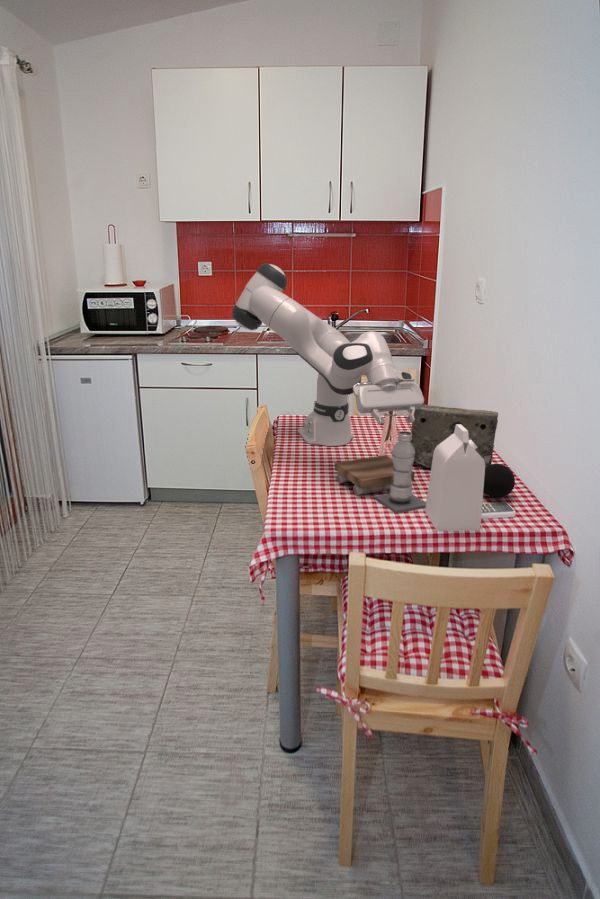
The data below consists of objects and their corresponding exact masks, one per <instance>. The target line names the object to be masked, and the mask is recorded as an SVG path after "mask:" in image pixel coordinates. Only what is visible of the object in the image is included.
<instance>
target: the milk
mask: <svg viewBox="0 0 600 899" xmlns="http://www.w3.org/2000/svg"><path fill="white" fill-rule="evenodd" d="M476 448H477V446H476V445H475V444H474V442H473V441H472V440H471V439H470V440H469V437H468V431H467V430H466V429H465V428H464V427H463V426H462V425H461V424H456V427H455V430H454V433H453V434H452V435H451V436H449V437H448V438H447V439H445V440H444V441H443V442H441V443H440V444H439V445H438V446H437V447H436V448H435V450H434V454H433V460H432V467H431V468H430V474H429V475H430V476H429V482H428V487H427V495H426V501H425V502H426V507H425V508H424V513H425V514H426V515H427V517H428V519H429V521H430V522H431V524H432V525H433V527H434V529H435V531H436V532H445V531H446V532H448V531H449V532H453V531H454V532H456V531H457V532H461V531H463V532H464V531H465V532H467V531H471V532H472V531H481V524H482V523H481V522H482V514H483V513H482V511H483V502H484V501H483V500H484V499H483V498H484V492H483V488H484V476H485V462H484V459H483V458H482V457H481V456H480V455H479V454H478V453H477V451H476V450H475V449H476Z"/></svg>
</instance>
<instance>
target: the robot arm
mask: <svg viewBox="0 0 600 899" xmlns="http://www.w3.org/2000/svg"><path fill="white" fill-rule="evenodd" d="M287 285H288V276H286V275H285V273H284V271H283V270H282V268H280V267H279V266H277V265H275V264H271V263H268V262H267V263H262V264H261V265H260V266H259V267H257V269H256V272H255V273H254V274H253V275H252V277H251V278H250V279H249V281H248V282H247V283H246V285H245V286H244V288H243V291H241V294H240V296H239V297H238V299H237V301H236V304H234V306H233V308H232V310H231V315H232V318H233V319H234V321H235V323H236V324H237V325H238V326H239V327H241V328H243V329H246V330H249V331H254V330H257V329H259V328H260V327H261V326H262V325H263V324H264V325H265V326H266V327H268V328H269V329H271V331H273V332H274V333H275V334H277V335H278V336H279V337H280V338H281V339H283V341H284V342H286V344H288V345H289V346H290V348H292V350H294V352H295V353H296V354H297V355H298V356H299V357H300V358H301V359H302V360H304V361H305V363H307V364H308V365H309V366H310V367H312V368H313V370H315V371H316V372H317V373H318V375H317V380H316V400H314V401H313V405H314V406H313V410H312V411H311V412H310V413H309V414H308V415H307V416H305V418H304V421H303V422H302V426H303V427H300V428H297V433H298V434H299V435H300V436H301V438H302V439H303V440H304V441H305V442H306V444H308V445H309V444H310V445H318V446H327V447H337V446H344V445H347V444H349V443H350V442H351V440H352V439H353V438H354V434H352V430H351V429H352V428H351V426H352V425H351V424H352V423H351V416H350V415H349V414H348V413H349V409H350V408H349V402H348V399H349V395H352V394H353V395H354V396H355V405H356V410H357V411H358V412H359V413H360V414H370V416H371V417H372V418H373V419H374V420H375V421H376V424H377V425H378V426H384V425H385V424H386V421H385V418H384V417H383V416H381V415H380V414H379V413H386V412H397V411H398V412H399V411H407V413H408V415H407V417H406V421H407V423H409V424H412V422H414V421H415V418H414V411H415V409H419V408H420V407H421V406H422V405H424V403H425V397H424V395H423V392H422V389H421V388H420V386H419V384H418V383H417V382H415V380H416V377H415V375H414V373H412V372H408V371H407V372H406V371H403V370H400V369H396V366H395V365H394V363H393V358H392V353H391V350H390V347H389V345H388V343H387V341H386V339H385V338H384V336H383V335H382V334H381V333H379V332H377V331H366V332H364V333H361V334H360V335H359V336H358V337H357V338H356V339H355V340H352V342H351V341H350V340H349V339H348V338H347V337H346V336H345V335H344V334H343V333H342V332H340V331H339V330H338V329H336V328H335V327H333V326H332V325H330V324H329V323H327V322H326V321H325V320H323V319H321V318H320V317H319V316H317V315H315V314H314V313H313V312H312V311H310V310H309V309H307V308H306V307H304V306H303V305H302V304H300V303H299V302H297V301H296V300H294V299H293V298H291V297H289V296H288V295H286V294H285V293H283V292H284V291H286V292H287V289H288V288H287ZM362 376H366V380H367V382H362Z"/></svg>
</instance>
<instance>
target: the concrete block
mask: <svg viewBox="0 0 600 899" xmlns="http://www.w3.org/2000/svg"><path fill="white" fill-rule="evenodd" d="M498 417H499V412H497V411H492V410H484V409H483V410H482V409H467V408H461V407H447V406H439V405H431V404H423V405H422V406H421V407H420V408H419V409H415V411H414V418H415V421H414V422H412V423H411V430H410V432H411V433H412V440H411V443H412V445H413V446H414V448H415V457H414V462H415V463H417V464H419V465H421V466H423V467H426V468H427V469H428V468H429V469H431V467H432V460H433V454H434V450H435V448H436V447H437V446H438V445H439V444H440V443H441V442H443V441H444V440H445V439H447V438H448V437H449V436H451V435H452V434H453V433H454V430H455V427H456V424H461V425H462V426H463V427H464V428H465V429H466V430H467V431H468V437H469V440H470V439H471V440H472V441H473V442H474V444H475V445H476V446H477V448H476V449H475V450H476V451H477V453H478V454H479V455H480V456H481V457H482V458H483V459H484V462H485V468H486V467H487V466H489V465H491V464H492V462H493V456H494V448H495V438H496V431H497V428H498V420H499V419H498Z"/></svg>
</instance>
